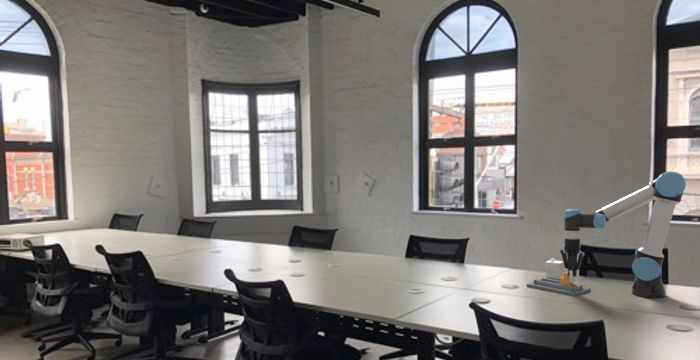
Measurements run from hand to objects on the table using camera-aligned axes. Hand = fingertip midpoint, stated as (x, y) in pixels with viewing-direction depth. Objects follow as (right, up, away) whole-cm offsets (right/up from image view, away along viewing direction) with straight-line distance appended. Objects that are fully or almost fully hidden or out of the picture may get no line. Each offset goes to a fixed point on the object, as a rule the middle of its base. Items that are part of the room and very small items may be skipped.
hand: (572, 282), depth 263 cm
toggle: (-2, -3, +3) cm, 5 cm away
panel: (-5, -5, +7) cm, 10 cm away
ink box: (+1, -5, +25) cm, 25 cm away
